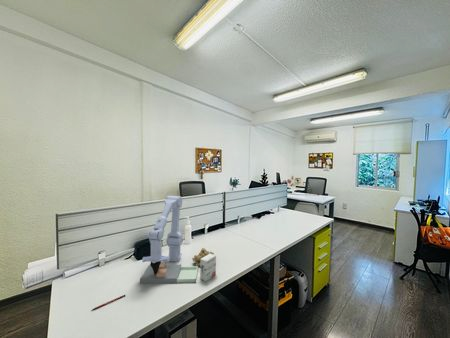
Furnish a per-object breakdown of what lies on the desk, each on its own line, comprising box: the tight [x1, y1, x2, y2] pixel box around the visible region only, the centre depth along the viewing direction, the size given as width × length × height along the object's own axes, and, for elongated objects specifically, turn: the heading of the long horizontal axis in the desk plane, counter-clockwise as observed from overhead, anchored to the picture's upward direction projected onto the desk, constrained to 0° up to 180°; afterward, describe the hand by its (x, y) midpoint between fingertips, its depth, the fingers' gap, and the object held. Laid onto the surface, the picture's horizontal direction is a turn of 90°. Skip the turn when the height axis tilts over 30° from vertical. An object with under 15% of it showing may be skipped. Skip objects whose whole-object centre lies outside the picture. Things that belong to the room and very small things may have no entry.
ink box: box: [199, 253, 217, 282], centre depth 103 cm, size 9×5×12 cm, turn 141°
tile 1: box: [158, 262, 166, 270], centre depth 107 cm, size 4×4×2 cm
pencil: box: [90, 294, 126, 312], centre depth 83 cm, size 1×14×1 cm, turn 133°
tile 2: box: [157, 269, 167, 277], centre depth 100 cm, size 4×4×2 cm
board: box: [139, 264, 182, 285], centre depth 104 cm, size 13×20×2 cm, turn 93°
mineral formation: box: [192, 247, 215, 267], centre depth 117 cm, size 8×13×15 cm
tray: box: [176, 265, 199, 284], centre depth 104 cm, size 12×10×2 cm
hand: (156, 273), depth 100 cm, fingers closed
